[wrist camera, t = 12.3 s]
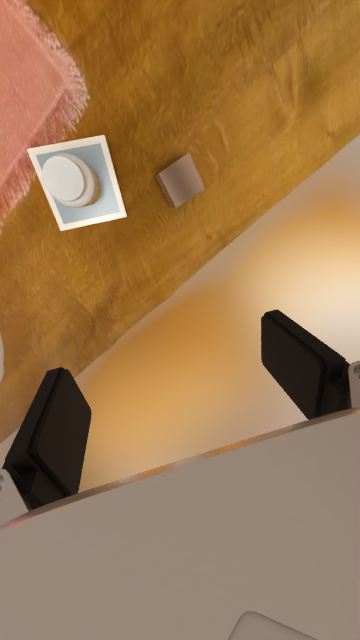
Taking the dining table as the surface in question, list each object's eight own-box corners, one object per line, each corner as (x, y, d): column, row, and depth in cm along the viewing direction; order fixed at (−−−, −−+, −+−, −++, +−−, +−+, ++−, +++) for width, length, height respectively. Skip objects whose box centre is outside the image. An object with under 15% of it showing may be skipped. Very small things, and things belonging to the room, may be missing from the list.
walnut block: (181, 158, 35) (189, 152, 31) (196, 190, 38) (205, 189, 33) (154, 176, 36) (158, 173, 31) (170, 207, 38) (176, 208, 34)
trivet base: (106, 140, 32) (104, 134, 30) (127, 215, 37) (126, 216, 34) (34, 153, 31) (26, 148, 29) (65, 228, 36) (60, 231, 34)
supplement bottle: (107, 178, 32) (100, 170, 23) (92, 214, 33) (80, 218, 25) (68, 152, 30) (44, 133, 21) (54, 192, 31) (27, 188, 23)
